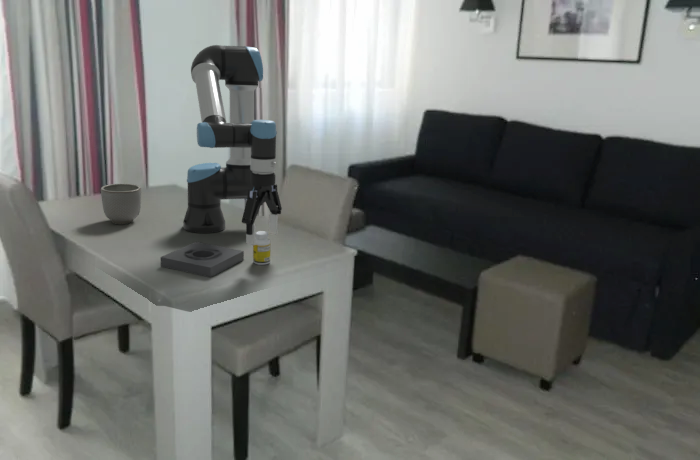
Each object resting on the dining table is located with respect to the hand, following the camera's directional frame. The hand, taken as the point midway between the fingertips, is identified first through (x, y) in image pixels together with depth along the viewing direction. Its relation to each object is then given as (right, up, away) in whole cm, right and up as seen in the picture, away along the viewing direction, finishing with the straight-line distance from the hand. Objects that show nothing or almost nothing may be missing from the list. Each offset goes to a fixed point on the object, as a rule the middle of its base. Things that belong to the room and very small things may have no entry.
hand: (262, 239), depth 201 cm
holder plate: (-18, -7, -1) cm, 20 cm away
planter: (-57, +6, +37) cm, 68 cm away
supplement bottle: (-1, -8, +3) cm, 8 cm away
